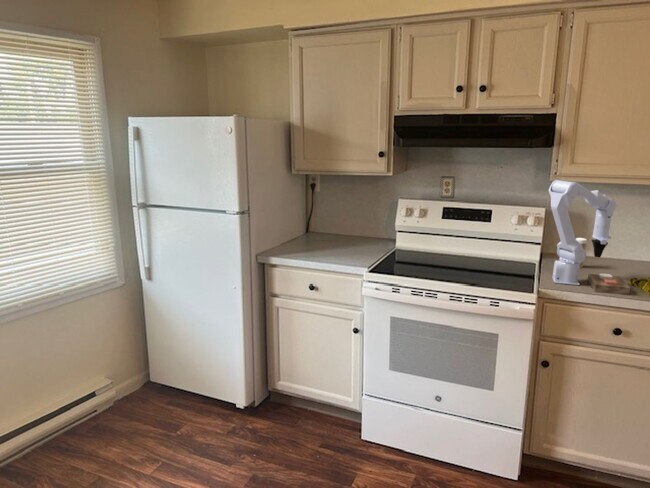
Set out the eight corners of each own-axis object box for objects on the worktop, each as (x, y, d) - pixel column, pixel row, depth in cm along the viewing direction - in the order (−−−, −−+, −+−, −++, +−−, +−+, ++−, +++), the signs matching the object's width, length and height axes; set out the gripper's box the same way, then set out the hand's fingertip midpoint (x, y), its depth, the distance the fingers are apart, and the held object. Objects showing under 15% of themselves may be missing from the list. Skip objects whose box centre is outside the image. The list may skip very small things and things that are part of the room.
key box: (594, 291, 193) (596, 284, 192) (587, 280, 206) (588, 273, 206) (629, 295, 189) (630, 287, 188) (619, 283, 203) (620, 276, 202)
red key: (605, 287, 193) (606, 281, 193) (602, 284, 197) (603, 278, 196) (616, 288, 192) (617, 282, 192) (614, 285, 196) (614, 279, 195)
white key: (601, 282, 200) (601, 276, 200) (598, 279, 204) (599, 273, 203) (611, 283, 199) (612, 277, 199) (609, 280, 203) (610, 274, 202)
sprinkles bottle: (573, 264, 229) (577, 237, 226) (584, 266, 226) (588, 238, 223) (570, 266, 226) (574, 238, 223) (581, 268, 223) (585, 240, 220)
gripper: (617, 230, 196) (611, 262, 200) (608, 223, 210) (603, 253, 213) (597, 228, 199) (592, 260, 202) (590, 222, 212) (586, 251, 215)
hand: (597, 256), depth 208 cm, fingers closed
